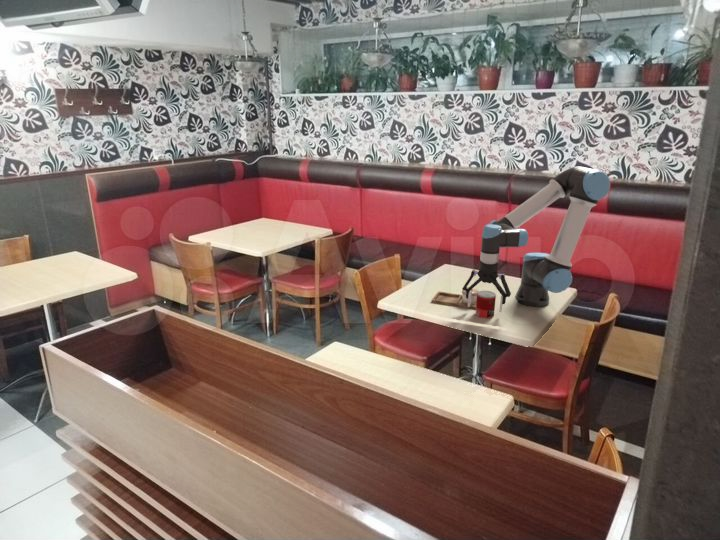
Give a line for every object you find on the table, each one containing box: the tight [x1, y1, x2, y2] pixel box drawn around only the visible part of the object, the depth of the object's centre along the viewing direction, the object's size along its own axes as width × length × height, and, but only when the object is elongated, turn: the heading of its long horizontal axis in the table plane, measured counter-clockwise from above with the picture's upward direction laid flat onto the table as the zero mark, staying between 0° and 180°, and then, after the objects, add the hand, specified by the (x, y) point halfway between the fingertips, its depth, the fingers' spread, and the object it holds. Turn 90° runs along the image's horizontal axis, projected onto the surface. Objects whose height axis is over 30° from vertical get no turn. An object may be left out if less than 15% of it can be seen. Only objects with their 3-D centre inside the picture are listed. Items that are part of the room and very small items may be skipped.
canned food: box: [475, 290, 497, 319], centre depth 232 cm, size 8×8×11 cm
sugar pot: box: [461, 288, 480, 306], centre depth 244 cm, size 8×8×7 cm
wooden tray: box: [431, 291, 476, 310], centre depth 248 cm, size 22×12×2 cm, turn 67°
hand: (484, 308), depth 232 cm, fingers open, 13 cm apart
